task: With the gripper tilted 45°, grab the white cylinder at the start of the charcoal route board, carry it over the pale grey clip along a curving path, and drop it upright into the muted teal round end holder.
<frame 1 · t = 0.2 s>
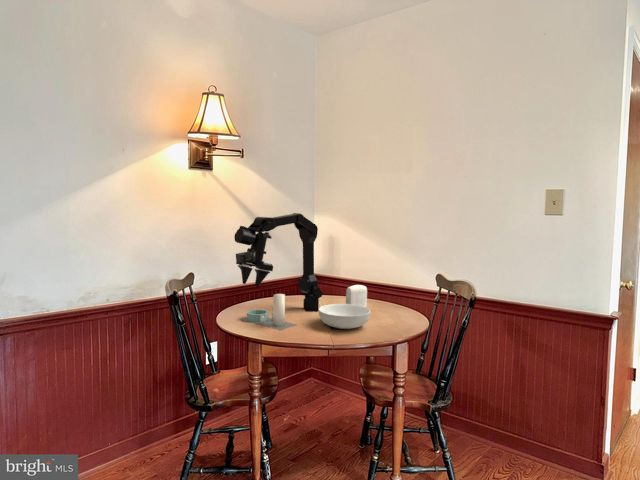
hand: (250, 285, 178), 15 cm above the table, tool pointing down, fingers open, 9 cm apart
serving bowl: (343, 326, 178), on the table
end holder: (257, 319, 182), resting on route board
white cylinder: (278, 324, 175), point 1 cm above the table, touching route board
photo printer: (356, 312, 200), on the table
route board: (268, 323, 179), on the table
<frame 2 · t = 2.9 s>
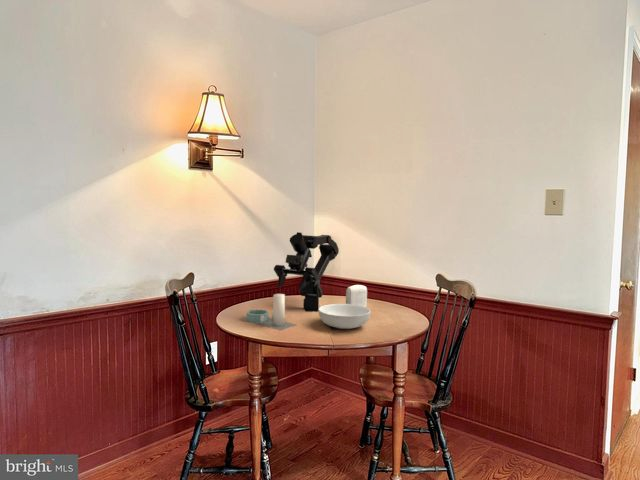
hand: (288, 289, 181), 13 cm above the table, tool tilted 45°, fingers open, 9 cm apart
nothing on the table moved.
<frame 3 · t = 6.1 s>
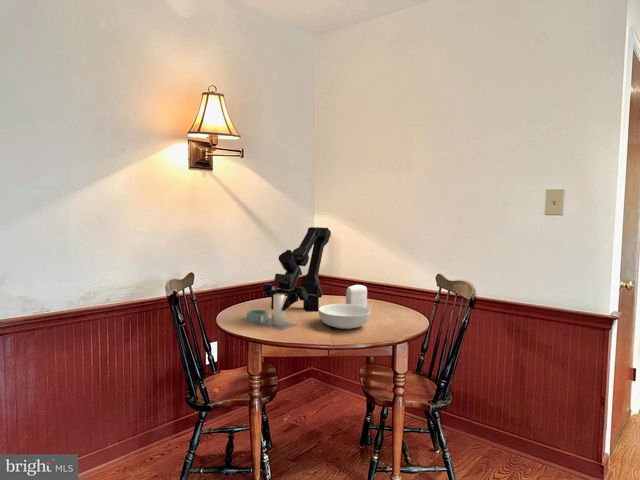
hand: (277, 309, 173), 7 cm above the table, tool tilted 45°, fingers closed on white cylinder, 4 cm apart
white cylinder: (278, 324, 175), point 1 cm above the table, touching gripper, route board
everything else where it was.
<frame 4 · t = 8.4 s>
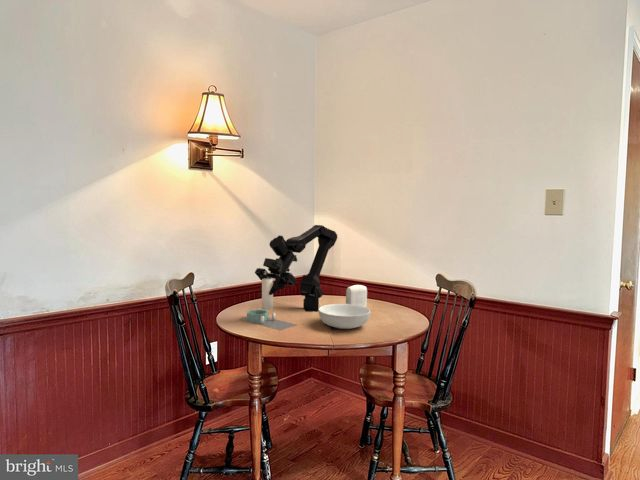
hand: (265, 293, 177), 12 cm above the table, tool tilted 45°, fingers closed on white cylinder, 4 cm apart
white cylinder: (267, 308, 178), point 6 cm above the table, touching gripper
everything else where it was.
when the fingers open (8 cm above the table, at t = 10.6 s): white cylinder drops 1 cm, resting on route board.
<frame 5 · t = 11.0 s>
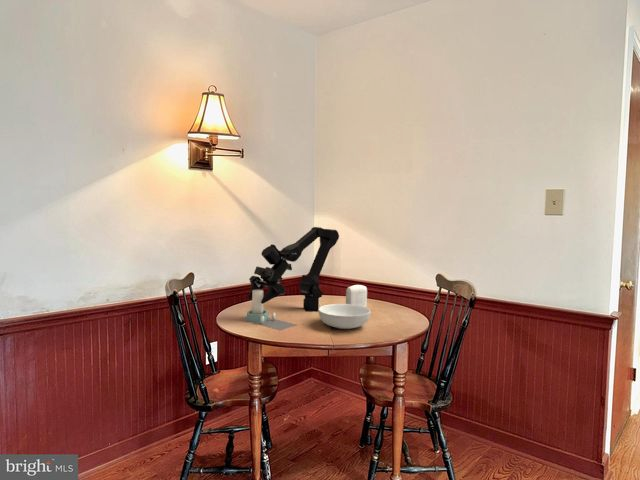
hand: (254, 301, 181), 8 cm above the table, tool tilted 45°, fingers open, 9 cm apart
white cylinder: (257, 319, 182), point 1 cm above the table, touching route board
everything else where it was.
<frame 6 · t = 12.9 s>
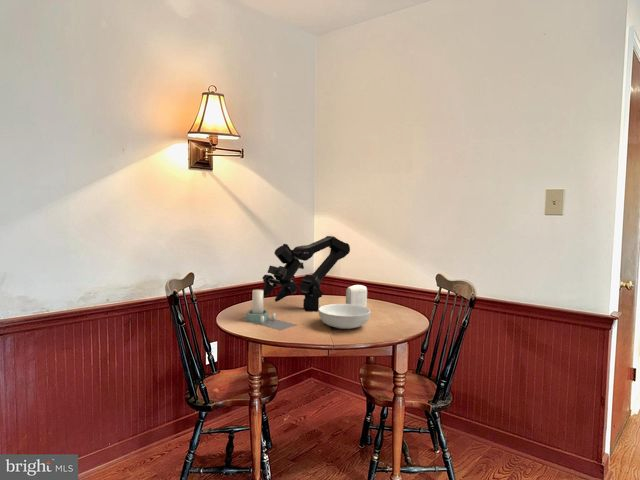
hand: (268, 299, 186), 8 cm above the table, tool tilted 45°, fingers open, 9 cm apart
nothing on the table moved.
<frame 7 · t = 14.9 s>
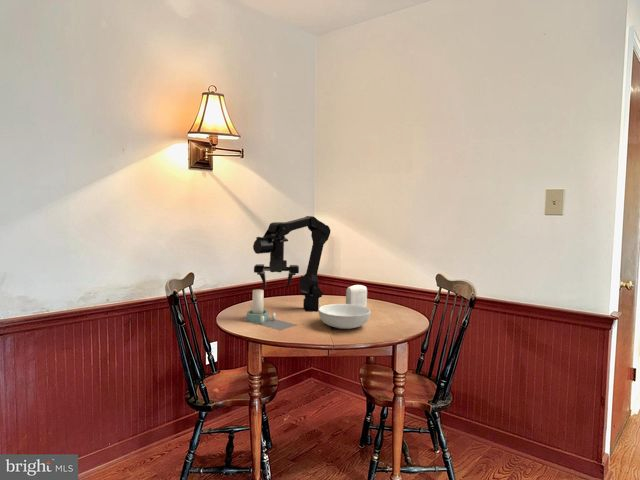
hand: (276, 288, 188), 12 cm above the table, tool pointing down, fingers open, 9 cm apart
nothing on the table moved.
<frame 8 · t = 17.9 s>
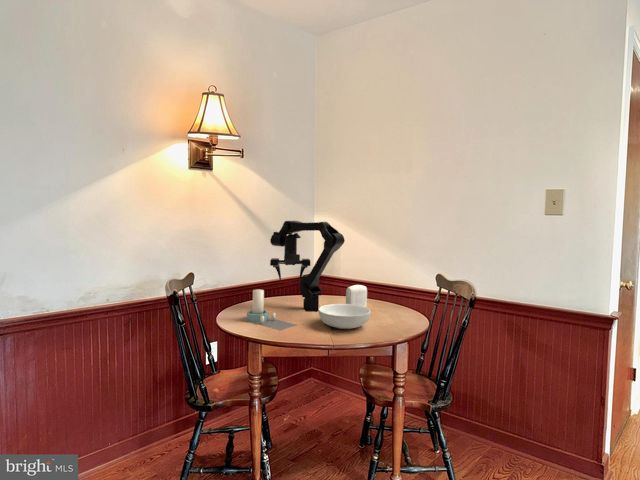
hand: (290, 280, 209), 12 cm above the table, tool pointing down, fingers open, 9 cm apart
nothing on the table moved.
at the end: white cylinder 0.1 cm off-centre on the end holder, point 0.0 cm above the end holder's base; white cylinder tilted 1°; the gripper is holding nothing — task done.
